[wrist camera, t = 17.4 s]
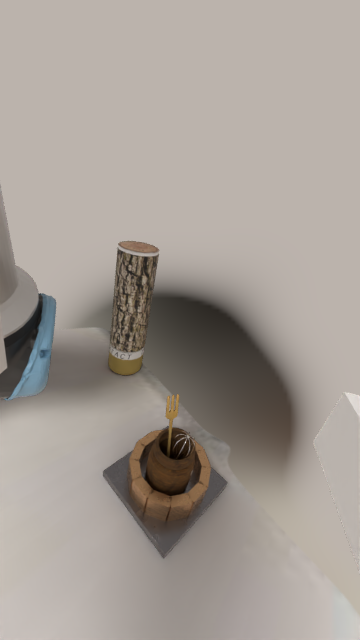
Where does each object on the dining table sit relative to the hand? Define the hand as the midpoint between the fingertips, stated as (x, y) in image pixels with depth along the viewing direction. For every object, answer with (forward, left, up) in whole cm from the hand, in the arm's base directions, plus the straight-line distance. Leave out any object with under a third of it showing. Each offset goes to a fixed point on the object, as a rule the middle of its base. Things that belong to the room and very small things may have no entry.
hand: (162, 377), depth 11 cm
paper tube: (-30, +23, -30) cm, 48 cm away
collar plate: (-7, +13, -30) cm, 33 cm away
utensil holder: (-7, +13, -29) cm, 33 cm away
